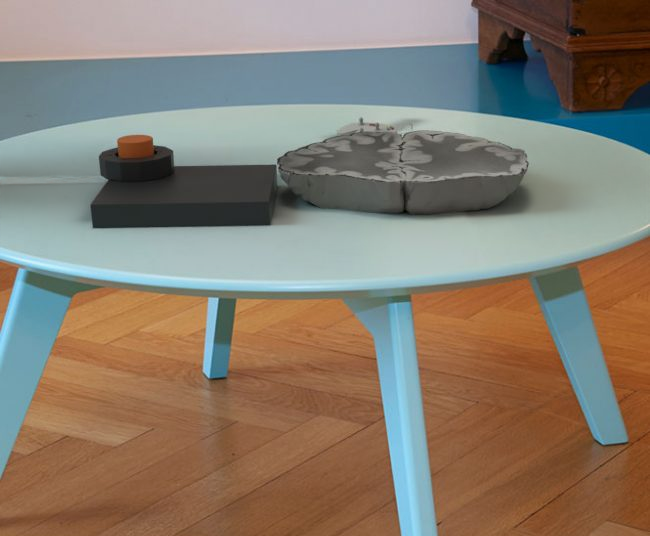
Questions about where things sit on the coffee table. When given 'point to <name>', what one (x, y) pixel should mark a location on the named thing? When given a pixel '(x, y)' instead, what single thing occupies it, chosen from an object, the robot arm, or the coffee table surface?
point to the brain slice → (404, 172)
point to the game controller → (366, 128)
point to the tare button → (135, 146)
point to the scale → (181, 193)
